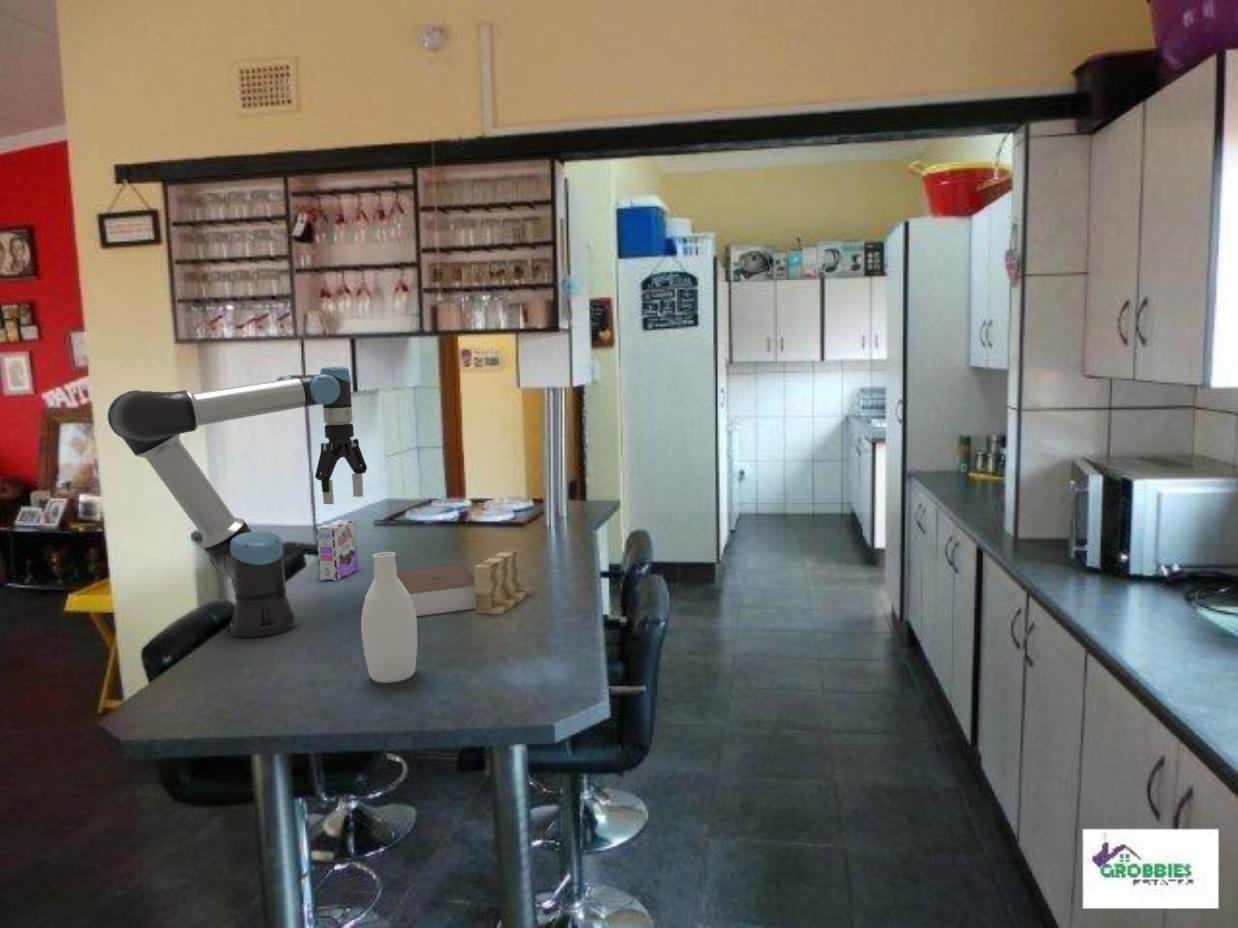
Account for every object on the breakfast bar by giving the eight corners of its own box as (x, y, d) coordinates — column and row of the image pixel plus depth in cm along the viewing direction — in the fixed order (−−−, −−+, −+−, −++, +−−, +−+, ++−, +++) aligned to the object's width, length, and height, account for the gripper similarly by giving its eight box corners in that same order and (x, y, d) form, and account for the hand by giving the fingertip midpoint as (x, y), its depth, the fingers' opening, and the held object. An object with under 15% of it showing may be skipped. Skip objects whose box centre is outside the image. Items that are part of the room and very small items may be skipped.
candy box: (337, 581, 268) (332, 527, 266) (319, 581, 269) (314, 527, 267) (359, 570, 281) (355, 519, 279) (342, 570, 282) (338, 519, 280)
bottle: (425, 664, 189) (417, 547, 186) (414, 683, 178) (406, 558, 175) (372, 667, 189) (363, 549, 186) (358, 686, 178) (348, 561, 175)
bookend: (501, 614, 225) (499, 567, 224) (475, 613, 227) (472, 566, 226) (530, 593, 244) (528, 550, 243) (506, 592, 246) (503, 549, 245)
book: (386, 622, 224) (385, 596, 223) (377, 596, 250) (376, 573, 250) (483, 609, 232) (481, 584, 231) (464, 585, 258) (463, 563, 258)
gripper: (321, 426, 231) (327, 507, 233) (376, 420, 255) (381, 493, 257) (297, 427, 233) (303, 507, 236) (353, 420, 257) (358, 493, 259)
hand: (344, 500), depth 246 cm, fingers open, 13 cm apart
